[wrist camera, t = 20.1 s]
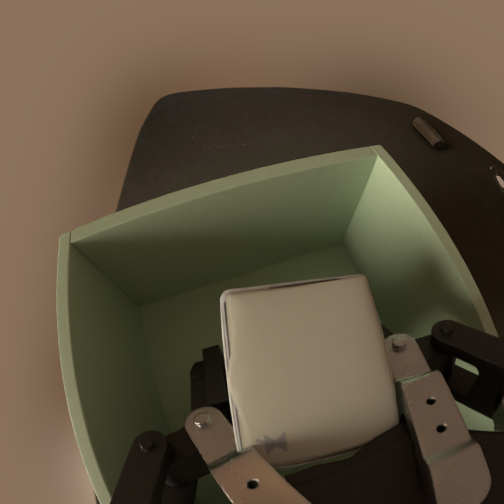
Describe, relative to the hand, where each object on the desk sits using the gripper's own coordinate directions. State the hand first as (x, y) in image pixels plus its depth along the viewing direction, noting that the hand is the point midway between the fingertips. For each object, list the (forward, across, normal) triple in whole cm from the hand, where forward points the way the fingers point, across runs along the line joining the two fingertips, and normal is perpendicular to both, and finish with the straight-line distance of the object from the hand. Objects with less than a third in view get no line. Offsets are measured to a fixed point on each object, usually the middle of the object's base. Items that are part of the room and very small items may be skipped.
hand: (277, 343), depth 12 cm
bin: (+3, 0, +6) cm, 7 cm away
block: (+17, -30, -8) cm, 35 cm away
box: (+3, 0, +6) cm, 6 cm away
